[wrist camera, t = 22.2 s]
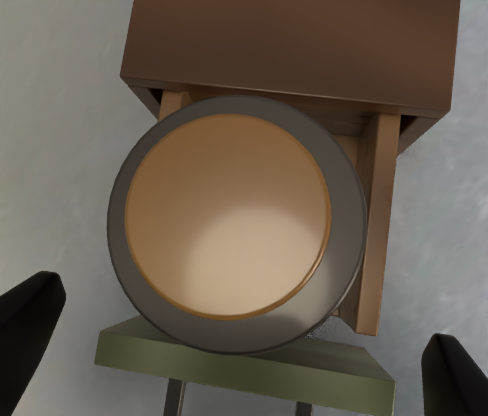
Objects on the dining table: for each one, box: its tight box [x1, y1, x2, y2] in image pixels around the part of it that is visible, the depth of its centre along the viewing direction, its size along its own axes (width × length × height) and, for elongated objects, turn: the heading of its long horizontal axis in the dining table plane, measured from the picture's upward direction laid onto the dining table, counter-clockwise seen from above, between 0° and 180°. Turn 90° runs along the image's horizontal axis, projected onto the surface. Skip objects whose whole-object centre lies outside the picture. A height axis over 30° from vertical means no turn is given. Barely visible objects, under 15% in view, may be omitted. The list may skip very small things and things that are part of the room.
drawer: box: [94, 89, 401, 416], centre depth 17 cm, size 16×10×5 cm, turn 172°
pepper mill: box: [107, 95, 367, 356], centre depth 12 cm, size 4×4×13 cm
